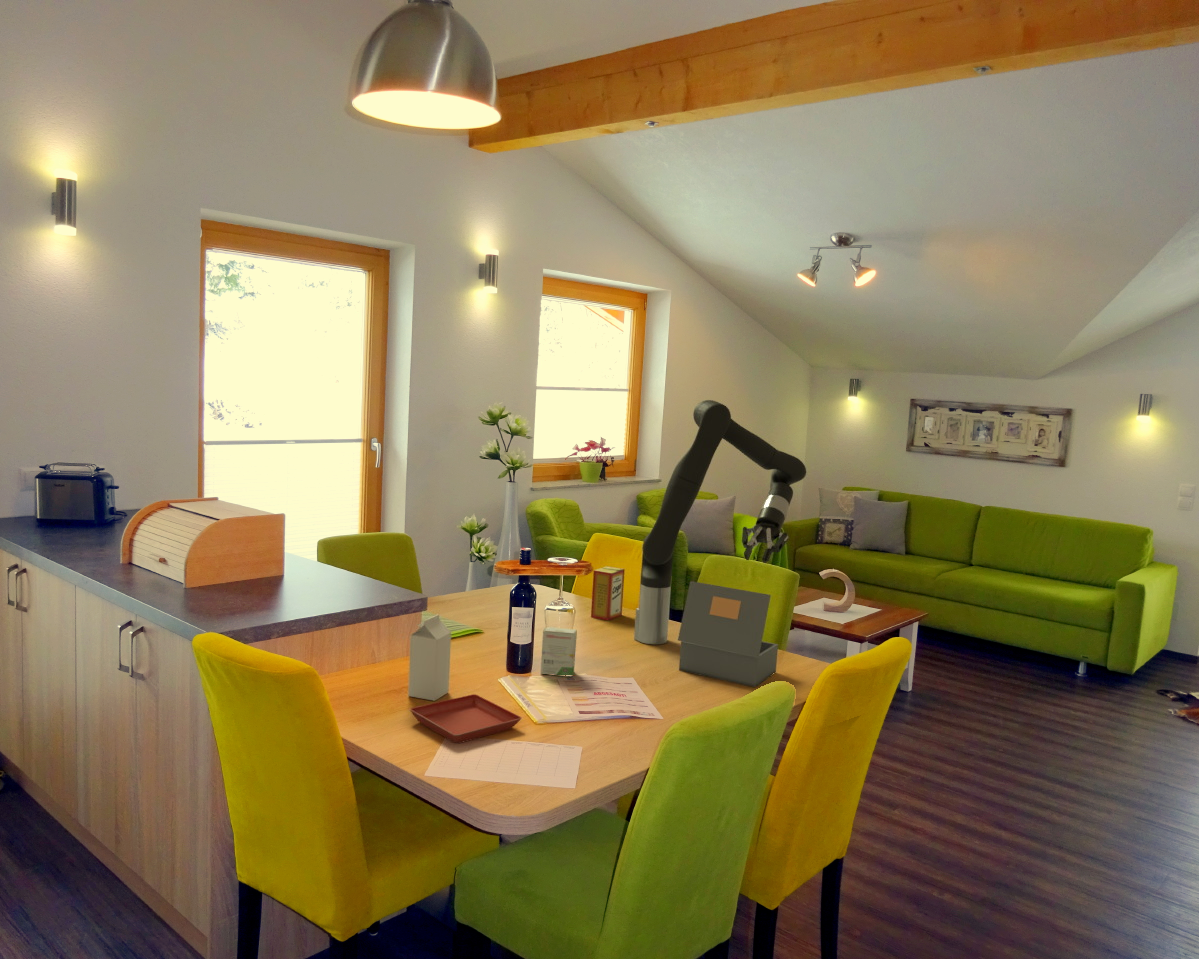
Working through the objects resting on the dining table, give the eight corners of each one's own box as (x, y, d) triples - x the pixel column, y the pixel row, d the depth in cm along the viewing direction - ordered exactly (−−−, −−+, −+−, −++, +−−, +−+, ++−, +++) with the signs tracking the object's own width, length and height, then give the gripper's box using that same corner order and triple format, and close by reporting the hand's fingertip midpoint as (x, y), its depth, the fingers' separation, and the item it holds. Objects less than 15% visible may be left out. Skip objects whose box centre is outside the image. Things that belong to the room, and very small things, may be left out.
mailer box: (678, 670, 254) (680, 641, 253) (702, 656, 268) (704, 629, 267) (755, 687, 243) (757, 657, 242) (775, 672, 257) (778, 644, 256)
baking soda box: (608, 620, 302) (611, 572, 300) (590, 617, 305) (593, 569, 303) (621, 615, 310) (624, 567, 308) (604, 611, 313) (607, 565, 312)
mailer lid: (678, 640, 253) (677, 640, 252) (691, 581, 256) (690, 580, 255) (758, 657, 241) (757, 657, 241) (770, 595, 245) (770, 594, 244)
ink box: (539, 675, 243) (542, 630, 242) (543, 669, 248) (545, 625, 247) (572, 677, 242) (575, 633, 241) (575, 671, 247) (577, 628, 246)
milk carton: (448, 692, 225) (452, 616, 223) (434, 701, 219) (437, 622, 217) (423, 688, 228) (425, 612, 226) (407, 696, 221) (410, 618, 219)
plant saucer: (522, 731, 205) (523, 716, 204) (454, 750, 192) (455, 734, 192) (474, 707, 218) (475, 693, 217) (407, 723, 205) (408, 708, 205)
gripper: (747, 503, 275) (729, 548, 266) (794, 508, 268) (776, 555, 259) (752, 519, 280) (734, 564, 271) (798, 525, 273) (781, 571, 264)
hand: (755, 559), depth 265 cm, fingers open, 4 cm apart
